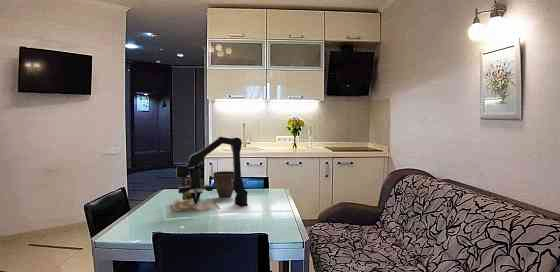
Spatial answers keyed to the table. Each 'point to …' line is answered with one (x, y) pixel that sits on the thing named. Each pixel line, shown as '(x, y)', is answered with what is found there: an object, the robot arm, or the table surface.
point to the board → (197, 207)
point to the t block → (183, 204)
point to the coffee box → (186, 195)
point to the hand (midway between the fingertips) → (195, 204)
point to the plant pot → (223, 183)
